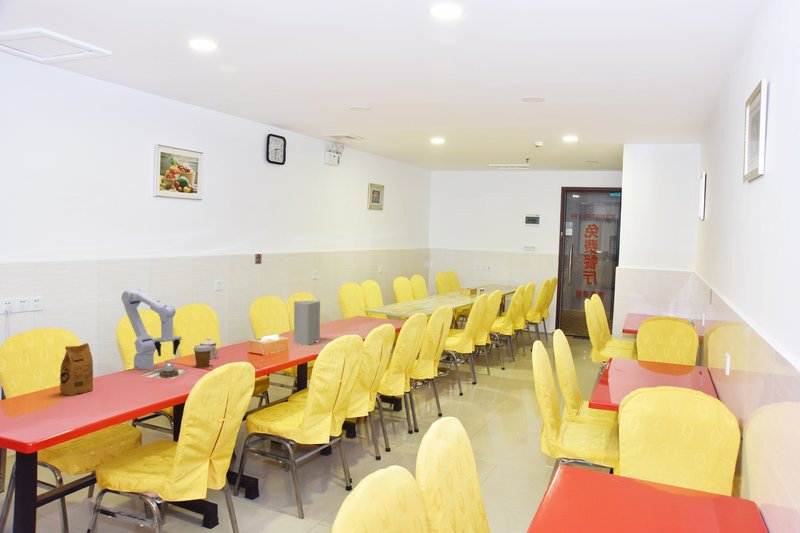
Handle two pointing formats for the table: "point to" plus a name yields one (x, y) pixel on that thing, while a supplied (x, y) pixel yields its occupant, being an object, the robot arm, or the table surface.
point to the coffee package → (76, 370)
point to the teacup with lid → (213, 346)
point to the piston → (168, 368)
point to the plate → (156, 372)
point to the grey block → (306, 322)
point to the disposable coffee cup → (202, 355)
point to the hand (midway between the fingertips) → (167, 355)
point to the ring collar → (168, 374)
